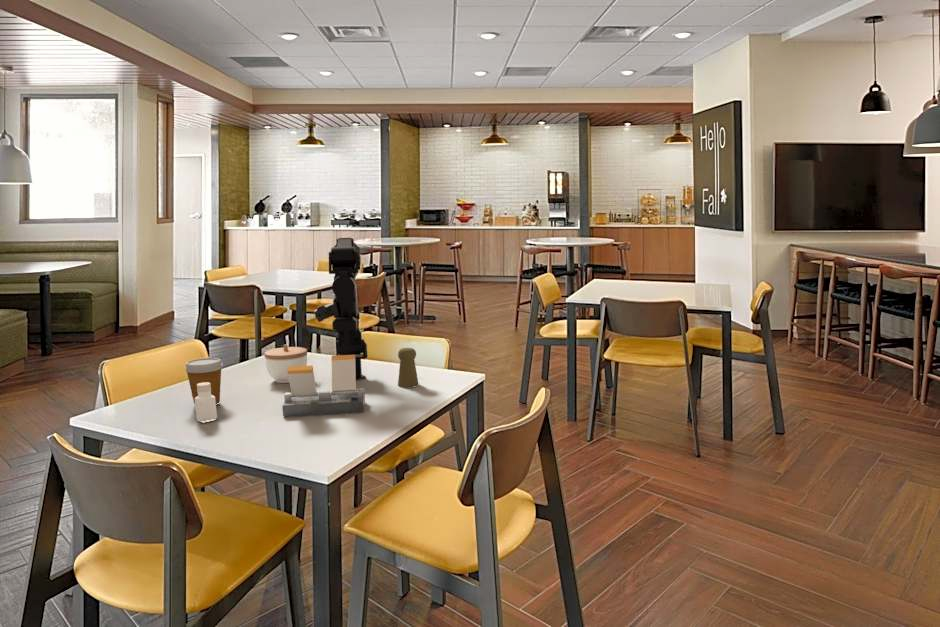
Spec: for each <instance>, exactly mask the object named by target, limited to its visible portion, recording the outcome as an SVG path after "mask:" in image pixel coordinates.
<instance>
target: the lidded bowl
mask: <svg viewBox="0 0 940 627" xmlns="http://www.w3.org/2000/svg"><path fill="white" fill-rule="evenodd" d="M264 359H265V360H264V361H265V367H266V370H267V373H268V375H269V376H270V377H271V378H272V379H273V380H275V382H276V383H279V384H290V382H289V377H288V372H287V369H288V367H292V366H308V349H307V348H306V347H300V346H289V345H288V344H283V346H282V347H275V348H272V349H268V350H266V351H264Z"/></svg>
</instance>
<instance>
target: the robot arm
mask: <svg viewBox="0 0 940 627" xmlns="http://www.w3.org/2000/svg"><path fill="white" fill-rule="evenodd" d="M361 258H362V257H361V247H359V245H358V244H356V243H355V242H354V238H353V237H339V238H336V244H335V245H334V246H332V247H331V249H330V251H328V274H329V275H334V276H333V282H332V285H331V289H332V290H331V291H332V293H333V294H334V298H333V299H332V303H328V304H326V305H324V304H322V305H320V306H317V307H316V309H314V311H313V314H314V317H315V318H316V320H317V323H321V322H323V321H324V320H327V319H329V318H331V317H333V321H332V322H331V324H332V325H331V326H332V330H334V332H337V333H338V334H337V339H338V340H335V341H336V342H335V347H336V348H335V349H336V355H355V369H356V381H357V380H362V379H363V380H364V379H366V378H367V376H366V375H364V374H362V360H365V359H367V358H368V344H367V342H366V341H365V339H364V338H363V337H362V336H363V335H362V332H361V331H360V329H359V327H358V326H359V323H360V318H361V315H360V314H361V313H360V310H359V309H357V308H358V307H357V306H358V305H357V304H358V303H357V300H358V297H357V288H356V278H357V276H358V274H359V272H360V270H361V266H362V264H361Z"/></svg>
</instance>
